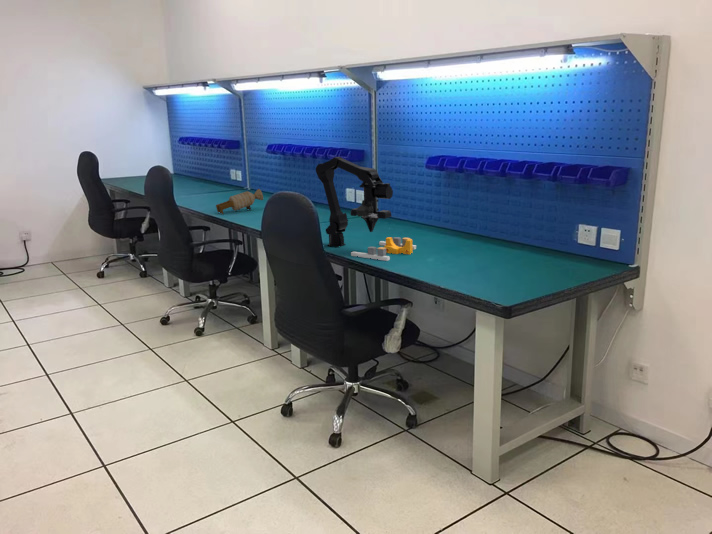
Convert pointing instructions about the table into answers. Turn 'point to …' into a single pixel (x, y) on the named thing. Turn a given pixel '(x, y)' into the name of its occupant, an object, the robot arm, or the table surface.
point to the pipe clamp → (395, 249)
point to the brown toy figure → (240, 201)
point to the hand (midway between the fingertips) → (371, 231)
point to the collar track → (381, 250)
